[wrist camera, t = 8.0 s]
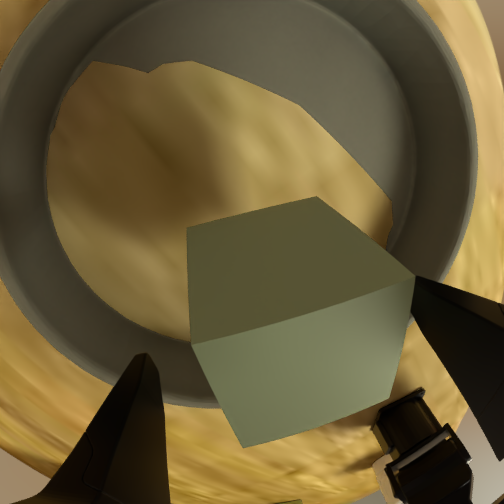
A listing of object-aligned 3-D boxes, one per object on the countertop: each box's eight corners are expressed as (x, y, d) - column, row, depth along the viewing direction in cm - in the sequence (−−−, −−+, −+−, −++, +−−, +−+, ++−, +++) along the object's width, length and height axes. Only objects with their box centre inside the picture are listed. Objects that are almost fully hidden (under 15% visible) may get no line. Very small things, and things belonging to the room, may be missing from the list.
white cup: (364, 472, 42) (383, 512, 33) (374, 457, 39) (396, 502, 30) (399, 456, 43) (419, 493, 35) (412, 439, 40) (436, 480, 31)
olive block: (316, 196, 11) (415, 276, 6) (324, 299, 14) (388, 398, 8) (186, 228, 11) (191, 344, 6) (218, 329, 13) (242, 448, 8)
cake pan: (-7, 39, 8) (-54, 30, 4) (410, -16, 11) (458, -30, 7) (109, 382, 20) (103, 431, 16) (410, 309, 22) (441, 343, 18)
